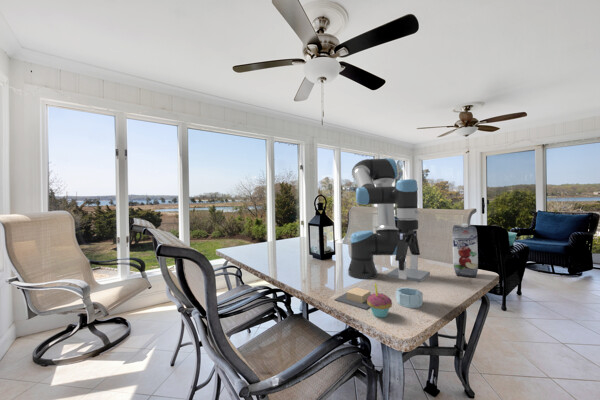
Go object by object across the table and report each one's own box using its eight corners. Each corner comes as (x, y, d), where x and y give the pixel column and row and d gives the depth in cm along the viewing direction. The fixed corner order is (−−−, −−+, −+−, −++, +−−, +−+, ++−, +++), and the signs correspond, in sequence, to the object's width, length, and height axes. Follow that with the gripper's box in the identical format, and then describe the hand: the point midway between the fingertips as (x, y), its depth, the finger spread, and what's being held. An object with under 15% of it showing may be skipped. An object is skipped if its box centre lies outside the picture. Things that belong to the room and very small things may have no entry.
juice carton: (452, 271, 137) (451, 222, 137) (476, 273, 132) (475, 222, 132) (454, 276, 129) (453, 223, 129) (478, 278, 125) (477, 224, 124)
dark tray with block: (334, 300, 102) (334, 292, 102) (352, 290, 113) (352, 283, 112) (366, 309, 93) (365, 301, 93) (382, 298, 103) (382, 290, 103)
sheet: (387, 276, 97) (387, 273, 97) (399, 269, 106) (399, 266, 106) (420, 282, 89) (420, 279, 89) (430, 274, 98) (429, 271, 98)
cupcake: (382, 322, 83) (381, 286, 83) (362, 313, 90) (361, 280, 90) (397, 315, 88) (396, 281, 88) (377, 307, 95) (376, 275, 95)
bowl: (393, 303, 98) (392, 292, 97) (401, 296, 104) (401, 286, 104) (417, 310, 91) (417, 298, 91) (425, 302, 98) (424, 291, 98)
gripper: (406, 222, 86) (407, 284, 86) (427, 217, 104) (428, 269, 104) (384, 221, 91) (386, 280, 91) (408, 217, 109) (409, 266, 109)
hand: (408, 274), depth 98 cm, fingers closed on sheet, 12 cm apart
